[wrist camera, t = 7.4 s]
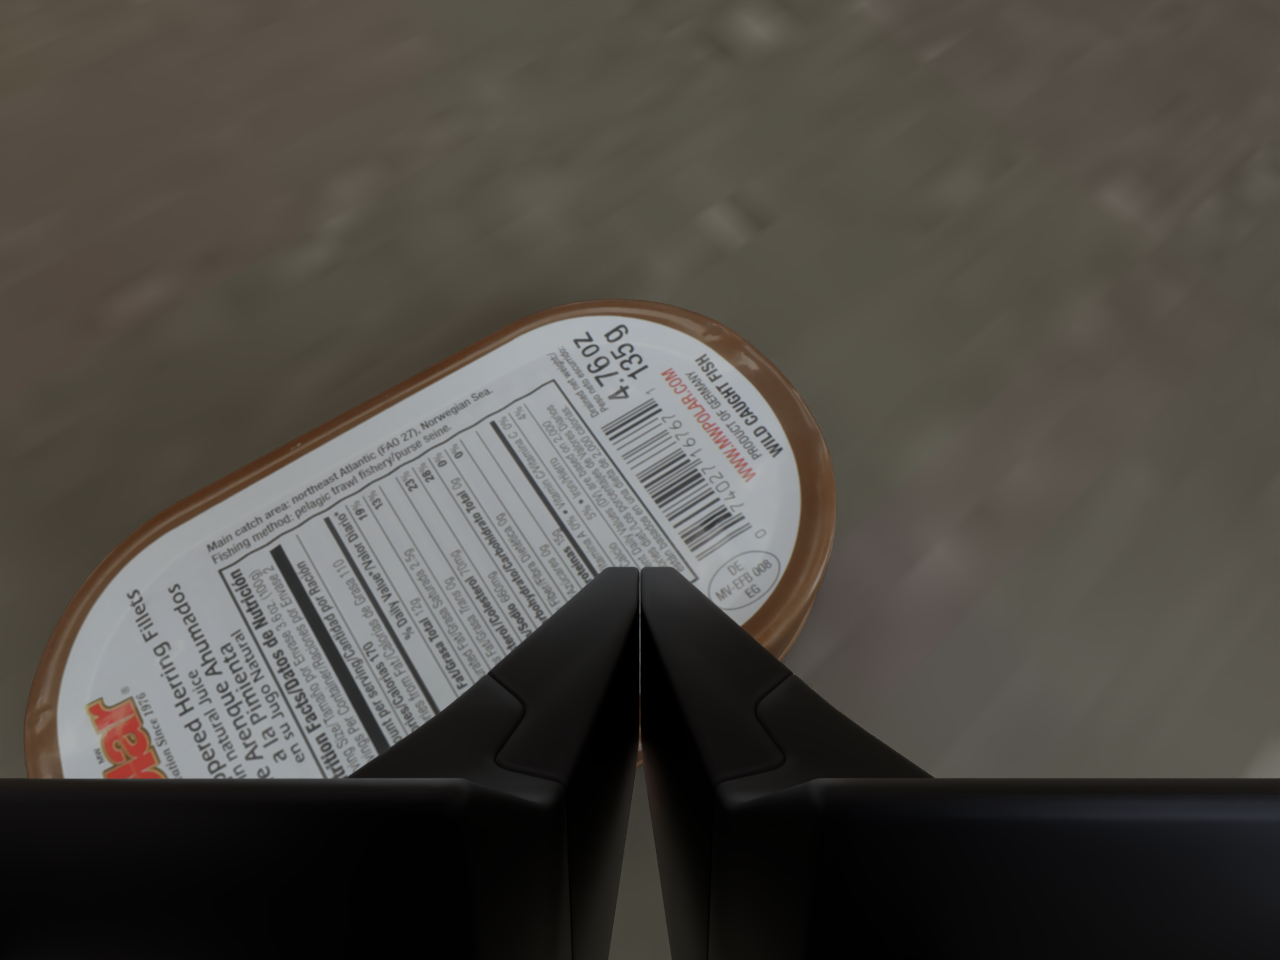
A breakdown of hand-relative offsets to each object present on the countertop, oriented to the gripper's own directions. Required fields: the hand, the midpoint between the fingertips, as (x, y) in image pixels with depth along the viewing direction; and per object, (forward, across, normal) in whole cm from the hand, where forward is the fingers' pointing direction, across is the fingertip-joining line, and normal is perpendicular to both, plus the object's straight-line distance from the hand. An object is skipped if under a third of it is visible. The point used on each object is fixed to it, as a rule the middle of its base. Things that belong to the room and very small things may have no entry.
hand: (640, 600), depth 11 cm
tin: (+2, +1, +5) cm, 5 cm away
